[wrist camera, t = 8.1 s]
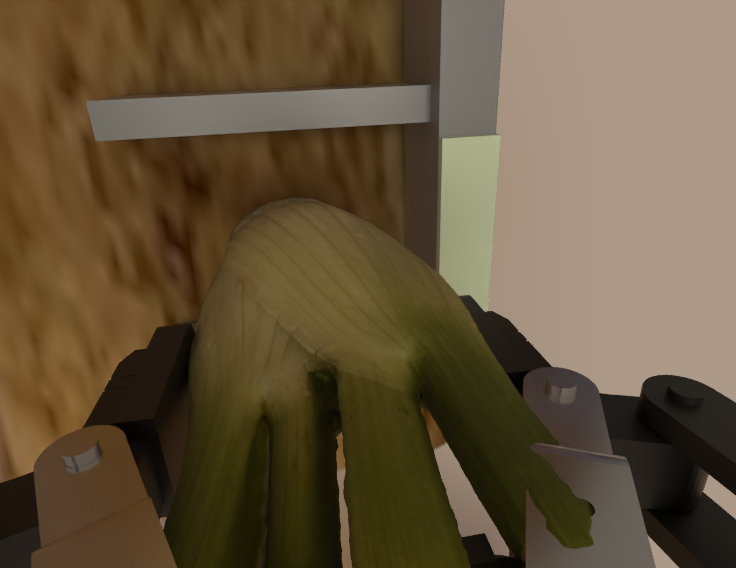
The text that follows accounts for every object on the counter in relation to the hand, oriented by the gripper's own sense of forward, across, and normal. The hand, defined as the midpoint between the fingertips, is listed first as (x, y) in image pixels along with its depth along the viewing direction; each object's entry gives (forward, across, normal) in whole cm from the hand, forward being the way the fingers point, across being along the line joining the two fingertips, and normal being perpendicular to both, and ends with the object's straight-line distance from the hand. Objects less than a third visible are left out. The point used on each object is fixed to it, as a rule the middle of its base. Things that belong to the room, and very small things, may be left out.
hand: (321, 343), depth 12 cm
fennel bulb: (+4, 0, -1) cm, 4 cm away
